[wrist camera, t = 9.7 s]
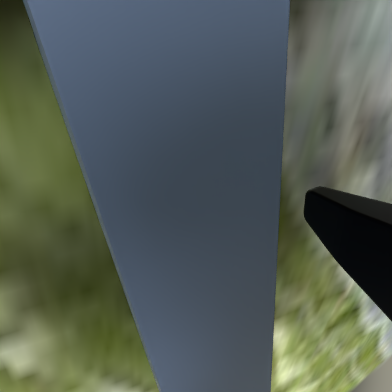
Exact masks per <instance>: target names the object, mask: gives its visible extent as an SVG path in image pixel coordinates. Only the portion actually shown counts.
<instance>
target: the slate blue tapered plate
mask: <svg viewBox="0 0 392 392" xmlns="http://www.w3.org/2000/svg"><path fill="white" fill-rule="evenodd" d="M23 3H24V5H25V8H26V11H27V14H28V17H29V20H30V23H31V25H32V28H33V31H34V32H33V33H34V36H35V39H36V42H37V45H38V48H39V50H40V53H41V56H42V59H43V62H44V65H45V68H46V70H47V73H48V76H49V79H50V82H51V85H52V87H53V90H54V93H55V96H56V99H57V102H58V105H59V107H60V110H61V113H62V116H63V119H64V122H65V125H66V127H67V130H68V133H69V136H70V139H71V142H72V144H73V147H74V150H75V153H76V156H77V159H78V162H79V164H80V167H81V170H82V173H83V176H84V179H85V182H86V184H87V187H88V190H89V193H90V196H91V199H92V201H93V204H94V207H95V210H96V213H97V216H98V219H99V221H100V224H101V227H102V230H103V233H104V236H105V239H106V241H107V244H108V247H109V250H110V253H111V256H112V259H113V261H114V264H115V267H116V270H117V273H118V276H119V278H120V281H121V284H122V287H123V290H124V293H125V296H126V298H127V301H128V304H129V307H130V310H131V313H132V316H133V318H134V321H135V324H136V327H137V330H138V333H139V335H140V338H141V341H142V344H143V347H144V350H145V353H146V355H147V358H148V361H149V364H150V367H151V369H152V372H153V375H154V378H155V381H156V384H157V386H158V389H159V392H270V391H271V371H272V351H273V331H274V311H275V291H276V271H277V250H278V230H279V210H280V190H281V170H282V150H283V130H284V110H285V90H286V70H287V49H288V29H289V9H290V0H23Z"/></svg>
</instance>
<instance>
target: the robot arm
mask: <svg viewBox="0 0 392 392" xmlns="http://www.w3.org/2000/svg"><path fill="white" fill-rule="evenodd" d="M304 217H305V220H306V221H307V223H308V224H309V225H310V227H311V228H312V229H313V231H314V232H315V233H316V235H317V236H318V237H319V239H320V240H321V241H322V243H323V244H324V245H325V247H326V248H327V249H328V251H329V252H330V253H331V255H332V256H333V257H334V259H335V260H336V261H337V262H338V263H339V264H340V266H341V267H342V268H343V269H344V270H345V271H346V272H347V273H348V274H349V275H350V277H351V278H352V279H353V280H354V281H355V282H356V283H357V284H358V285H359V286H360V287H361V289H362V290H363V291H364V292H365V293H366V294H367V295H368V296H369V297H370V298H371V299H372V300H373V302H374V303H375V304H376V305H377V306H378V307H379V308H380V309H381V310H382V311H383V312H384V313H385V315H386V316H387V317H388V318H389V319H390V320H391V321H392V204H390V203H386V202H382V201H378V200H374V199H370V198H366V197H362V196H358V195H354V194H350V193H346V192H342V191H338V190H334V189H330V188H326V187H321V186H319V187H316V188H313V189H311V190H308V191H307V193H306V195H305V205H304Z"/></svg>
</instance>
